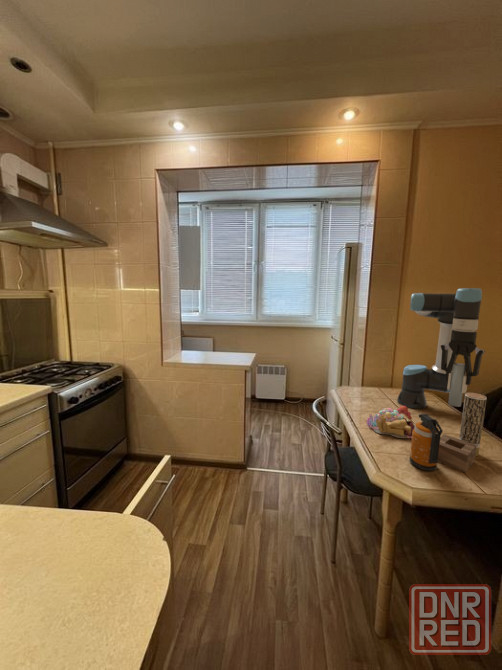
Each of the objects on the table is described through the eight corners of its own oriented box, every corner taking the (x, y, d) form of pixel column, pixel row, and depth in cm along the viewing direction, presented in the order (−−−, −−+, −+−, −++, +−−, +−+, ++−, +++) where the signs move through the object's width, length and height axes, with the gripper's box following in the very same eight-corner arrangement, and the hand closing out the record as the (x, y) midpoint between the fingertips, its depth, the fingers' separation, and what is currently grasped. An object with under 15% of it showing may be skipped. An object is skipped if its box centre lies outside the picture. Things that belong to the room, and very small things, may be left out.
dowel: (450, 401, 111) (455, 362, 109) (462, 405, 108) (467, 364, 106) (446, 404, 109) (451, 364, 106) (458, 407, 106) (464, 366, 103)
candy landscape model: (427, 443, 124) (430, 423, 123) (371, 436, 129) (373, 418, 128) (409, 418, 149) (410, 401, 147) (362, 414, 153) (363, 398, 152)
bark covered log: (458, 446, 121) (465, 391, 117) (478, 452, 117) (486, 395, 113) (457, 453, 116) (464, 395, 112) (478, 459, 112) (486, 400, 108)
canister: (426, 457, 113) (431, 410, 110) (446, 475, 102) (452, 424, 99) (404, 458, 112) (409, 411, 109) (422, 476, 102) (428, 424, 98)
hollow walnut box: (442, 449, 119) (444, 433, 118) (474, 461, 110) (476, 445, 109) (432, 458, 112) (434, 442, 111) (465, 472, 104) (467, 455, 103)
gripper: (434, 328, 108) (428, 386, 112) (490, 334, 95) (481, 399, 99) (442, 327, 113) (435, 382, 116) (496, 332, 99) (487, 395, 103)
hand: (456, 390), depth 108 cm, fingers closed on dowel, 4 cm apart
